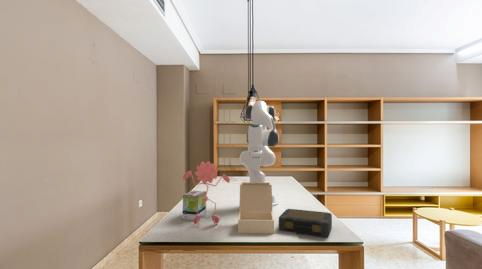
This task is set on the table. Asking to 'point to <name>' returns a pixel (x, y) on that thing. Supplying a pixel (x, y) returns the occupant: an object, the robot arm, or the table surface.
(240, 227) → the mailer box
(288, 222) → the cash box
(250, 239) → the table surface
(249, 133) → the robot arm
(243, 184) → the lid
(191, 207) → the tea box
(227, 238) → the table surface
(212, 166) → the figurine
